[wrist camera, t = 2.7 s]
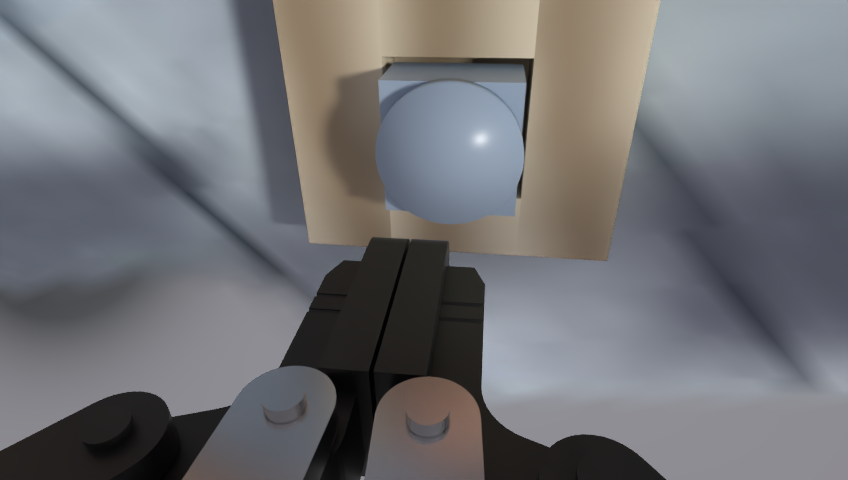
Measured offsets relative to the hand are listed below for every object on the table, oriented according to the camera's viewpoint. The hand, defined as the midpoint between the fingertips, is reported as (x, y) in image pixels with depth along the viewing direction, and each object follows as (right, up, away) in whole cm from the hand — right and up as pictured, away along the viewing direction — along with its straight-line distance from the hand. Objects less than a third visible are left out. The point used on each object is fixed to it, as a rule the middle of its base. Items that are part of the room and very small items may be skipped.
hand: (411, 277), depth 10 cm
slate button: (+1, +5, +8) cm, 10 cm away
